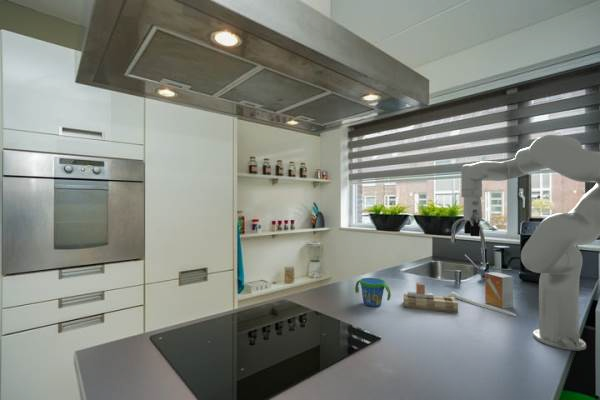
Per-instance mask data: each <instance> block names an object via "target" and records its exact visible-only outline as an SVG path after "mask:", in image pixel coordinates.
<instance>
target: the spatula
mask: <svg viewBox="0 0 600 400" xmlns="http://www.w3.org/2000/svg"><path fill="white" fill-rule="evenodd" d="M448 297H454V298H455V299H456V300H459V301H463V302H465V303H467V304H471V305H475V306H477V307H480V306H481V308H483V309H487V308H488V310H491V309H492V310H491V311H494V310H495V312H498V313H502V314H504V313H505V315H508V316H512V317H514V318H515V317H517V313H514V312H511V311H508V310H506V309H502V308H499V307H497V306H494V305H491V304H486V303H482V302H478V301H475V300H472V299H471V298H467V297H464V296H462V295H459V294H458V293H456V292H454V291H450V292H449V294H448Z"/></svg>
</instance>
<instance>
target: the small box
mask: <svg viewBox="0 0 600 400" xmlns="http://www.w3.org/2000/svg"><path fill="white" fill-rule="evenodd" d="M484 279H485V280H484V281H485V285H484V286H485V289H484V291H485V292H484V294H485V295H484V296H485V297H484V302H485V304H486V303H487V304H488V305H491V306H493V307H497V308H499V307H500V309H503V310H505V309H508V308H509V309H510V308H514V276H513V275H508V274H505V273H500V272H496V271H493V272H485V278H484Z"/></svg>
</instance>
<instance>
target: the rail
mask: <svg viewBox="0 0 600 400" xmlns="http://www.w3.org/2000/svg"><path fill="white" fill-rule="evenodd" d="M403 306H404V308H405V309H411V310H412V309H414V310H425V311H432V312H443V311H444V312H445V313H453V312H455V314H458V313H459V303H458V301H457V299H456V298H454V297H449V296H442V295H441V296H440V295H434V299H427V298H416V297H414V298H411V297H408V292H407V293H405V292H403Z"/></svg>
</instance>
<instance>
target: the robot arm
mask: <svg viewBox="0 0 600 400" xmlns="http://www.w3.org/2000/svg"><path fill="white" fill-rule="evenodd" d="M546 169H549V170H551V171H553V172H555V173H558V174H560V176H562V177H565V178H567V179H568V180H573V181H576V182H580V183H595V185H594V186H593V187H592V188H591V189H590V190H588V191H587V192H586V193H585V194H583V196H582V197H581V198H580V200H579V201H578V202H577V204H576V205H575V206H574V207H573V208H572V209H571V210H570V211H569V212H559V213H554V214H552V215H549V216H547V217H545V218H544V219H543V220H542V221H541V222H540V223H539V225H538V226H537V227H536V228H535V230H534V231H533V233H532V235H531V236H530V237H529V239H528V240H527V241H526V243H525V244H524V246H523V247H522V250H521V252H520V260H521V263H522V264H523V266H524V267H525V268H526V269H527V270H528V271H531V272H532V273H535V274H540V276H539V279H538V280H539V281H538V329H535V330H533V331H532V336H533V337H534V339H535V340H537V341H538V342H541V343H543V344H545V345H547V346H550V347H553V348H557V349H562V350H565V351H566V350H568V351H584V350H586V349H587V343H586V342H585V341H584V340H583V339H582V338H580V278H581V272H582V267H583V261H584V260H583V255H582V252H581V251H580V249H579V248H578V247H577V246H582V245H583V246H585V245H588V244H589V245H590V244H592V243H594V242H595V241H596V240H597V239H599V237H600V151H595V150H594V151H593V150H589V149H586V148H584V147H583V146H582V143H581V142H580V140H578V139H577V138H575V137H571V136H568V135H567V136H565V135H559V134H558V135H557V134H546V135H542V136H540V137H538V138H536V139H534V141H533V142H532V143H531V145H529V146H528V147H525V148H522V149H519V150H518V151H517V152H516V154H515V157H514V158H512V159H508V160H504V161H491V160H490V161H486V160H485V161H484V160H482V161H479V162H475V163H469V164H468V163H467V164H463V165H462V166H461V169H460V171H461V172H460V173H461V174H460V176H461V180H460V181H461V182H460V183H461V191H460V192H461V194H460V195H461V196H460V198H463V211H462V212H463V214H462V215H463V220H464V221H463V222H464V223H463V224H464V225H463V227H464V229H463V230H464V234H466V235H469V234H470V237H480V235H481V234H480V233H481V232H480V231H481V229H480V228H481V227H480V226H481V225H480V222H482V221H483V210H482V209H483V208H482V206H483V205H482V198H483V181H487V182H488V181H489V182H490V181H491V182H492V181H495V182H501V181H507V180H513V179H518V178H521V177H524V176H526V175H528V174H529V173H533V172H537V171H541V170H546Z"/></svg>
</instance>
